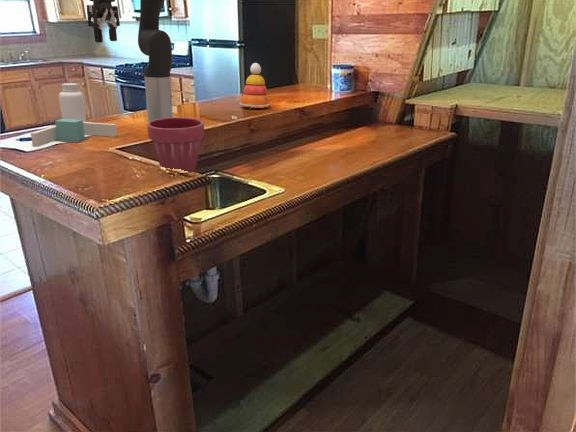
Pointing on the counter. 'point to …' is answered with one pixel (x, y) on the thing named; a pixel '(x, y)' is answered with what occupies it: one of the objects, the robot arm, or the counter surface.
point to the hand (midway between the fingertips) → (106, 41)
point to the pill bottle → (72, 102)
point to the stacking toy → (255, 89)
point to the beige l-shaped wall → (89, 129)
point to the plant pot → (176, 141)
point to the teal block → (70, 129)
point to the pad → (71, 141)
